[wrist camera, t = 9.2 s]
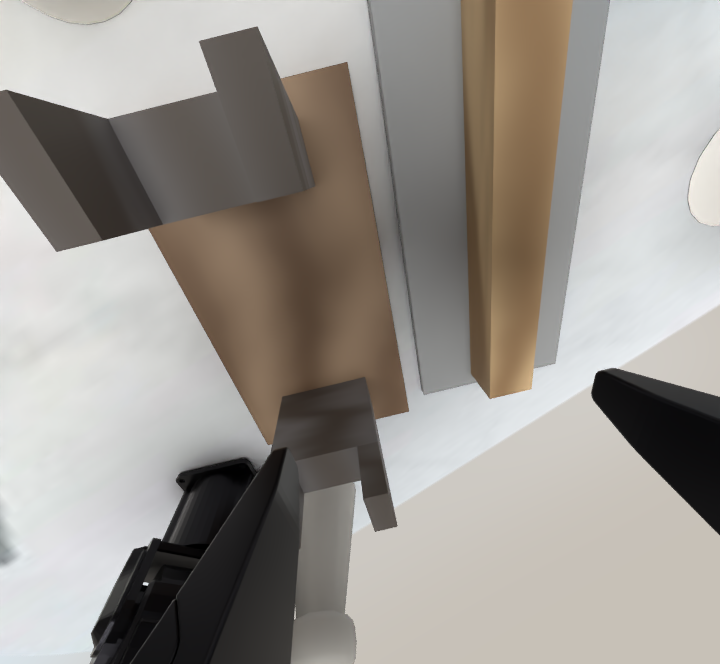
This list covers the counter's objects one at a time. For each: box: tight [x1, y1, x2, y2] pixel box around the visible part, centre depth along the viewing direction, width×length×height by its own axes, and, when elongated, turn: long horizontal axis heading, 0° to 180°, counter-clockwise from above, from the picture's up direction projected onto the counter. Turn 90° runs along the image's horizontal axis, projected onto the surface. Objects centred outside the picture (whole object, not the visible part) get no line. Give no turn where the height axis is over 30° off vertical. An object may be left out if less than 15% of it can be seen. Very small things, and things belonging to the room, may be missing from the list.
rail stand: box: [0, 27, 409, 549], centre depth 15 cm, size 12×22×10 cm, turn 12°
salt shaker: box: [291, 482, 356, 664], centre depth 21 cm, size 6×6×13 cm
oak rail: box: [461, 0, 573, 399], centre depth 16 cm, size 3×22×3 cm, turn 12°
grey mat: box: [367, 0, 610, 395], centre depth 18 cm, size 11×24×1 cm, turn 12°
